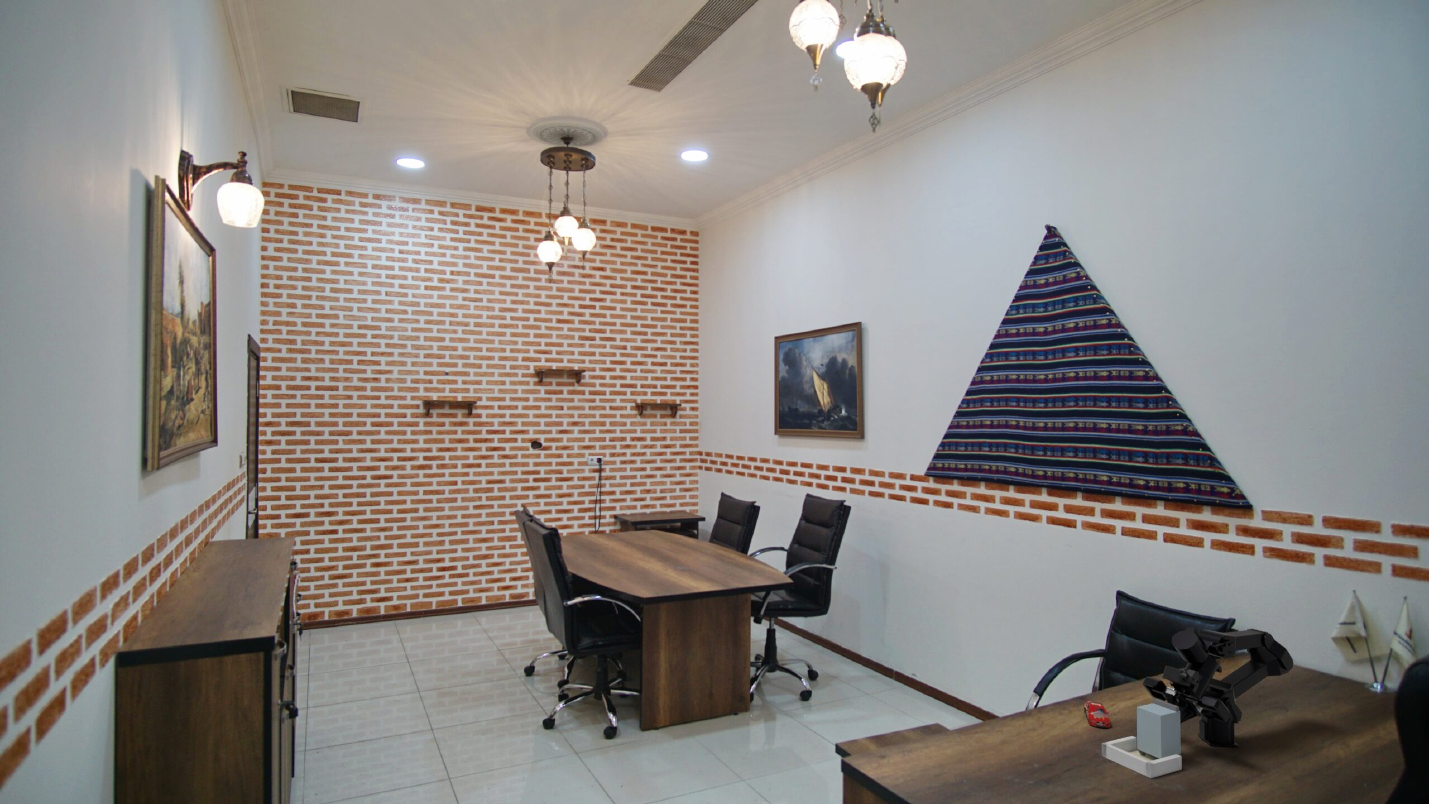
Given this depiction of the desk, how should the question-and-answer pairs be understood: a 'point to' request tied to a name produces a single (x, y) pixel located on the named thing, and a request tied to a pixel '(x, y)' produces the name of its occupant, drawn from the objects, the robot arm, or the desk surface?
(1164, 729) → the pale grey upright block
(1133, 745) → the bay
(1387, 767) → the desk surface
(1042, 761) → the desk surface
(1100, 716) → the race car
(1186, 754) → the desk surface
